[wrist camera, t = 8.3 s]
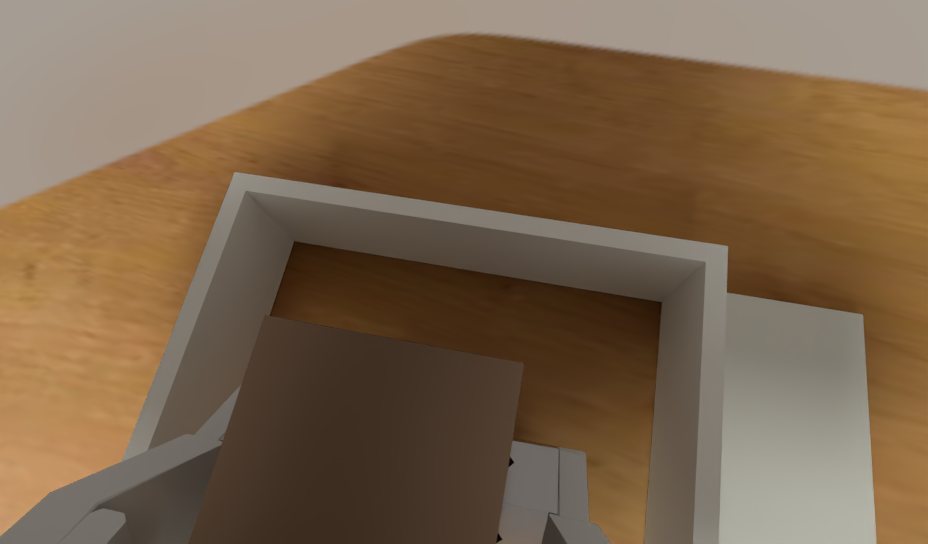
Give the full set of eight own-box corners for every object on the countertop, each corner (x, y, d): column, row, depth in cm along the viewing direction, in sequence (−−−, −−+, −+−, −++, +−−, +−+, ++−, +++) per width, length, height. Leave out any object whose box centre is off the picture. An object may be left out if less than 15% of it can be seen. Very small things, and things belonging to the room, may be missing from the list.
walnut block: (343, 527, 14) (165, 612, 6) (379, 383, 15) (265, 314, 8) (486, 561, 14) (472, 697, 6) (511, 409, 15) (524, 362, 7)
